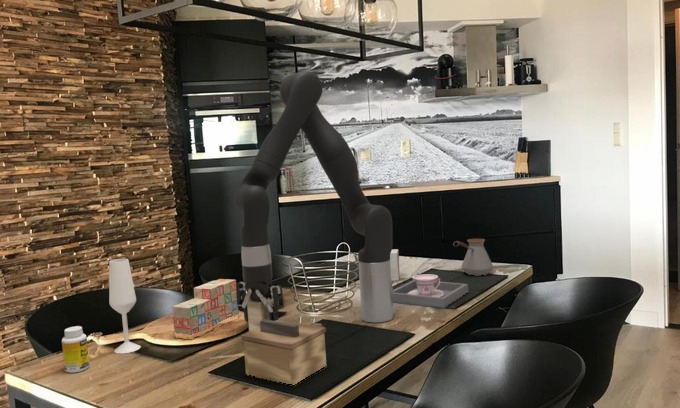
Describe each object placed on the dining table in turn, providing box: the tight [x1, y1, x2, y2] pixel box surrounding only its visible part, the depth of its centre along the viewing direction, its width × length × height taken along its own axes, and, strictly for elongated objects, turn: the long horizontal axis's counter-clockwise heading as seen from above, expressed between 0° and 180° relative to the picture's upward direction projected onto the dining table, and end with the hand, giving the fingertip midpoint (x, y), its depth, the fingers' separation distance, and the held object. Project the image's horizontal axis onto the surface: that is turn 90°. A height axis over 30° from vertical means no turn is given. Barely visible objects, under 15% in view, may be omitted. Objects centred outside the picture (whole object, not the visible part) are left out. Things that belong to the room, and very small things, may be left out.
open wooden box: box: [242, 333, 327, 386], centre depth 133 cm, size 12×14×8 cm
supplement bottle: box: [61, 325, 90, 374], centre depth 141 cm, size 6×6×10 cm
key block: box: [247, 298, 272, 332], centre depth 151 cm, size 4×4×12 cm
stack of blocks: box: [172, 278, 240, 335], centre depth 169 cm, size 21×6×12 cm, turn 153°
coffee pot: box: [452, 238, 494, 277], centre depth 213 cm, size 21×12×15 cm, turn 140°
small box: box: [390, 248, 401, 282], centre depth 217 cm, size 8×6×10 cm
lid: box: [240, 319, 327, 349], centre depth 133 cm, size 14×15×3 cm
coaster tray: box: [393, 279, 469, 309], centre depth 188 cm, size 19×19×3 cm
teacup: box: [408, 273, 444, 297], centre depth 189 cm, size 12×12×6 cm
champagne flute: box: [108, 258, 142, 354], centre depth 154 cm, size 7×7×24 cm
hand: (261, 323), depth 151 cm, fingers open, 8 cm apart
